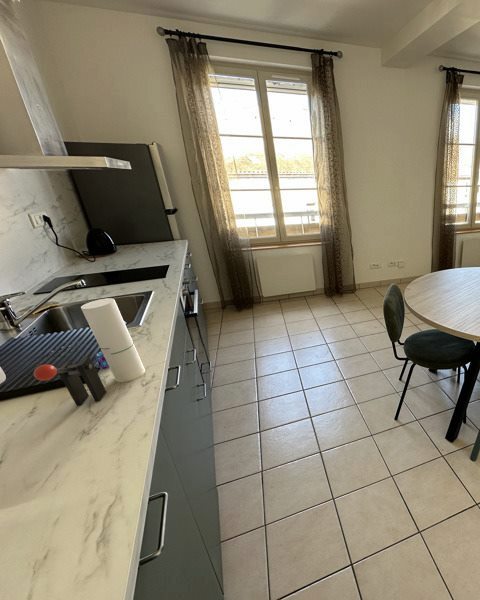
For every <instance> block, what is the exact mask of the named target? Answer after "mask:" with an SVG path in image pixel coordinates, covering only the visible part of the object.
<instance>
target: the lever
mask: <svg viewBox="0 0 480 600" xmlns="http://www.w3.org/2000/svg"><path fill="white" fill-rule="evenodd" d="M78 364H79V363H75V364H74V363H73V365H69V366H67V367H68V368H60V367H59V368H60V369H59V368H56V367H55V365H52V364H47V363H46V364H41V365H39V366H38V367H36V368H35V369H34V371H33V376H34V378H35V379H36V380H39V381H42V382H43V381H49V380H51V379H53V378H54V377H56V375H57V374H59V373H65V372H68V374H69V375H73V374H78V375H79V374H81V373H80V371H79V370H78V368H77V365H78Z"/></svg>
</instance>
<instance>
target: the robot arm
mask: <svg viewBox="0 0 480 600" xmlns="http://www.w3.org/2000/svg"><path fill="white" fill-rule="evenodd" d="M6 379H7V376H6V374H5V371H4V370H3V368H2V367H1V366H0V385H1V384H3V383H4V382H5V381H6Z"/></svg>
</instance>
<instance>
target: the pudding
mask: <svg viewBox="0 0 480 600" xmlns="http://www.w3.org/2000/svg"><path fill="white" fill-rule="evenodd" d="M94 361H96V362H98V363H99V368H100V369H99V370H106V369H110V367H109V365H108V363H107V361H106V359H105V357H104V355H103V353H102V351H101V350H100V351H98V352H97V353H95V355H94Z"/></svg>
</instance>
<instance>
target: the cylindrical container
mask: <svg viewBox="0 0 480 600" xmlns="http://www.w3.org/2000/svg"><path fill="white" fill-rule="evenodd" d="M80 309H81V312H82V313H83V315H84V318H85V320H86V322H87V324H88V325H89V328H90V330H91V332H92V334H93V336H94V338H95V340H96V342H97V344H98V346H99V348H100V351H102V353H103V355H104V357H105V359H106V361H107V363H108V365H109V369H110V371H111V373H112V375H113V377H114V379H115V382H116V383H127V382H130V381H133V380H135V379H138V378H139V377H141V376H143V375H144V374H145V372H146V369H145V367H144V364H143V362H142V360H141V358H140V354H139V352H138V351H137V348H136V346H135V344H134V341H133V338H132V337H131V334H130V332H129V330H128V327H127V325H126V323H125V321H124V319H123V316H122V314H121V311H120V309H119V307H118V304H117V302H116V300H115V298H112V297H110V298H107V297H106V298H100V299H96V300H92V301H90V302H86V303H84V304H83V305H81V306H80Z"/></svg>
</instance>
